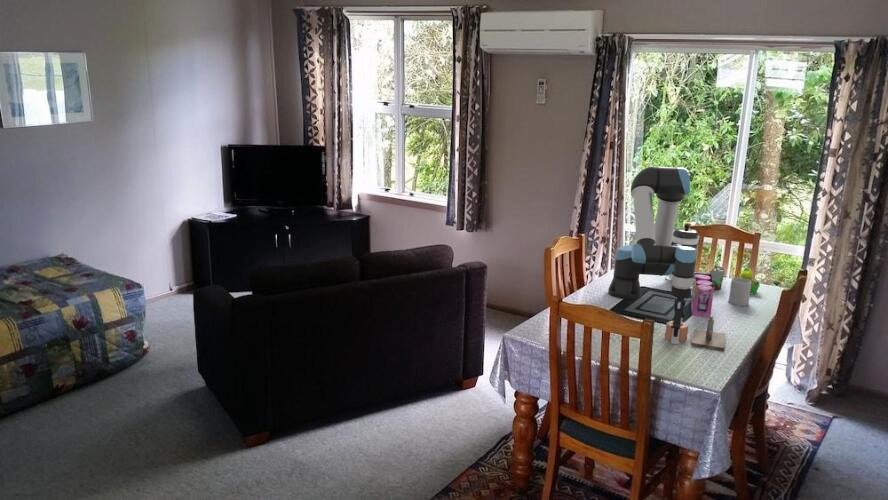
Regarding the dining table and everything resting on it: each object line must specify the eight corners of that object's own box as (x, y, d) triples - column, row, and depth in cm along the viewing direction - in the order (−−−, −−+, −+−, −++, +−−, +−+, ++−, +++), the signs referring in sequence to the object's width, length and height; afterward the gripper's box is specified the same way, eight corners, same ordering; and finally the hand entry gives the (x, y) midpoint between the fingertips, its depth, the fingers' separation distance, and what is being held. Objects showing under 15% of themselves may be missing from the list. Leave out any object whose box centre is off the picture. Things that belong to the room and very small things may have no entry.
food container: (720, 293, 325) (723, 273, 322) (707, 290, 328) (709, 270, 325) (725, 286, 335) (728, 267, 332) (712, 284, 338) (715, 265, 336)
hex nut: (686, 343, 263) (687, 329, 261) (663, 339, 266) (665, 325, 265) (687, 337, 269) (689, 323, 268) (665, 333, 273) (667, 319, 271)
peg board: (690, 345, 261) (693, 320, 258) (693, 331, 275) (696, 308, 273) (724, 350, 257) (727, 325, 254) (724, 336, 271) (728, 312, 268)
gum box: (711, 319, 290) (714, 289, 287) (691, 316, 292) (695, 287, 289) (708, 301, 312) (712, 273, 308) (690, 299, 314) (694, 272, 311)
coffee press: (668, 275, 351) (674, 219, 344) (699, 281, 342) (706, 223, 335) (657, 283, 338) (663, 225, 330) (689, 289, 329) (696, 229, 321)
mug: (748, 307, 306) (751, 284, 303) (727, 304, 309) (731, 281, 306) (748, 299, 316) (752, 277, 313) (729, 296, 320) (732, 274, 317)
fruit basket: (732, 292, 326) (735, 270, 324) (732, 287, 334) (735, 265, 332) (758, 295, 323) (761, 272, 320) (757, 290, 331) (760, 268, 328)
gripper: (690, 296, 250) (683, 350, 255) (694, 279, 272) (687, 329, 277) (669, 293, 253) (663, 347, 258) (674, 276, 274) (668, 326, 280)
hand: (675, 338), depth 268 cm, fingers open, 12 cm apart
